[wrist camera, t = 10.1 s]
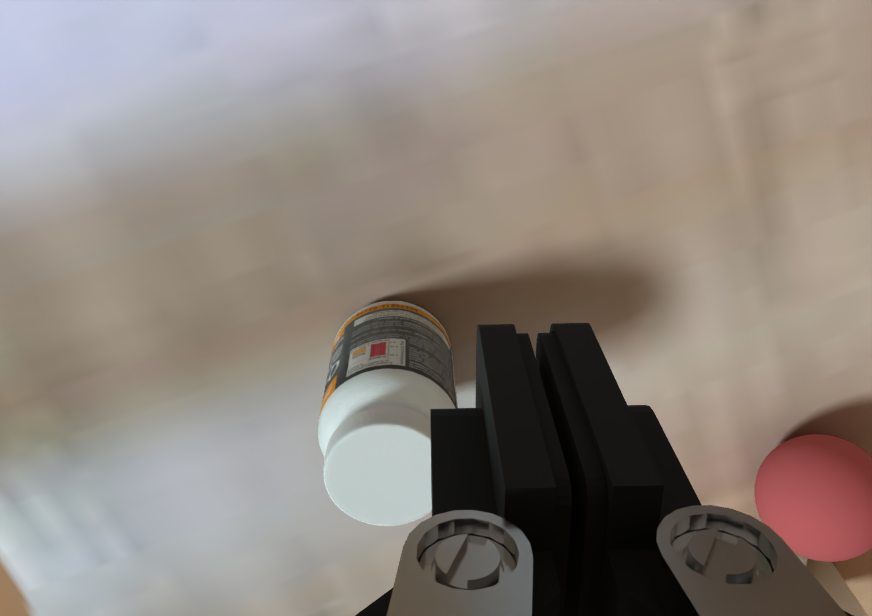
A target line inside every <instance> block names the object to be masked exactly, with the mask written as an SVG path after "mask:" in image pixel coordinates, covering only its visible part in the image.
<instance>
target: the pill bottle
mask: <svg viewBox="0 0 872 616" xmlns="http://www.w3.org/2000/svg"><path fill="white" fill-rule="evenodd" d="M457 408H458V406H457V396H456V387H455V378H454V365H453V356H452V350H451V344H450V341H449V338H448V335H447V333H446V331H445V329H444V327H443V326H442V325H441V324H440V322H439V321H438V320H437V319H436V318H435V317H434V316H433V315H432V314H430V313H429V312H428V311H426V310H425V309H423V308H421V307H419V306H416V305H414V304H411V303H407V302H403V301H382V302H377V303H373V304H370V305H368V306H365V307H364V308H362V309H360V310H358V311H357V312H355V313H353V314H352V315H351V316H350V317H349V318H348V319H347V320H346V321H345V323H344V324H343V325H342V327H341V328H340V330H339V332H338V334H337V336H336V338H335V341H334V345H333V349H332V354H331V359H330V364H329V370H328V375H327V381H326V386H325V391H324V397H323V401H322V406H321V411H320V417H319V423H318V439H319V443H320V447H321V450H322V453H323V455H324V457H325V461H324V471H323V474H324V482H325V486H326V489H327V491H328V494H329V496H330V497H331V499H332V500H333V502H334V503H335V504H336V505H337V506H338V507H339V508H340V509H341V510H342V511H343V512H345V513H346V514H348V515H349V516H351V517H353V518H355V519H357V520H359V521H361V522H364V523H368V524H372V525H379V526H398V525H403V524H407V523H410V522H413V521H415V520H418V519H420V518H422V517H424V516H425V515H427V514H428V513H429V512H431V511H432V495H431V429H430V409H457Z"/></svg>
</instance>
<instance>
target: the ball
mask: <svg viewBox="0 0 872 616" xmlns="http://www.w3.org/2000/svg"><path fill="white" fill-rule="evenodd" d="M755 502H756V506H757V510H758V513H759V515H760V518H761V520H762V521H763V523H764V524H766V525H767V526H769V527H770V528H771V529H772V530H773V531H774V532H776V533H777V534H778V535H779V536H780V537H781V538H782V539H783V540H784V541H785V542H786V544H787V545H788V546H789V547H790V548H791V550H792V551H793V552H794V553H796V554H798V555H800V556H803V557H806V558H809V559H813V560H817V561H824V562H837V561H845V560H849V559H853V558H855V557H858V556H860V555H862V554H864V553H865V552H867V551H869V550H870V549H871V548H872V457H871V456H870V455H869V454H868V453H867V452H865V451H864V450H862V449H861V448H860V447H858V446H856V445H855V444H853V443H851V442H849V441H846V440H844V439H841V438H838V437H834V436H829V435H822V434H811V435H803V436H799V437H795V438H792V439H790V440H788V441H785V442H784V443H782V444H780V445H779V446H777V447H776V448H775V449H774V450H772V451H771V452H770V454H769V455H768V456H767V457H766V458H765V460H764V461H763V463H762V464H761V466H760V469H759V471H758V474H757V477H756V481H755Z"/></svg>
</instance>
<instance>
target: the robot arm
mask: <svg viewBox="0 0 872 616" xmlns="http://www.w3.org/2000/svg"><path fill="white" fill-rule="evenodd" d="M430 429H431V495H432V517H431V518H429V519H427V520H425V521H423V522H421V523H420V524H419V525H418V526H417V527H416V528H415V529H414V530H413V531H412V532H411V533H410V534H409V536H408V538H407V540H406V542H405V544H404V546H403V550H402V554H401V558H400V562H399V567H398V571H397V575H396V579H395V583H394V587H393V588H392V589H391V590H389V591H388V592H387V593H385V594H384V595H383V596H381V597H380V598H378V599H377V600H376V601H374V602H373V603H372V604H370V605H369V606H368V607H366V608H365V609H364V610H362V611H361V612H360V613H358V614H357V615H356V616H854V615H852V614H850V613H848V612H846V611H844V610H842V609H841V608H840V606H839V605H838V604H837V603H836V602H835V601H834V599H833V598H832V597H831V596H830V595H829V593H828V592H827V591H826V590H825V589H824V588H823V586H822V585H821V584H820V583H819V582H818V580H817V579H816V578H815V577H814V576H813V574H812V573H811V572H810V571H809V570H808V569H807V567H806V566H805V565H804V564H803V563H802V561H801V560H800V559H799V558H798V557H797V556H796V554H795V553H794V552H793V551H792V550H791V548H790V547H789V546H788V545H787V544H786V542H785V541H784V540H783V539H782V538H781V537H780V536H779V535H778V534H777V533H776V532H774V531H773V530H772V529H771V528H770V527H769V526H767V525H766V524H764V523H762V522H761V521H759V520H757V519H755V518H754V517H752V516H750V515H747V514H744V513H742V512H739V511H736V510H733V509H730V508H724V507H718V506H713V505H701V503H700V501H699V499H698V497H697V495H696V493H695V491H694V489H693V487H692V486H691V484H690V482H689V480H688V478H687V476H686V474H685V472H684V470H683V468H682V466H681V464H680V462H679V460H678V458H677V456H676V454H675V452H674V450H673V449H672V447H671V445H670V443H669V441H668V439H667V437H666V435H665V433H664V431H663V429H662V427H661V425H660V423H659V421H658V419H657V417H656V415H655V413H654V412H653V410H652V409H651V407H650V406H647V405H627V404H626V401H625V399H624V397H623V395H622V393H621V391H620V388H619V386H618V384H617V382H616V380H615V378H614V375H613V373H612V371H611V369H610V367H609V365H608V362H607V360H606V358H605V356H604V354H603V352H602V349H601V347H600V345H599V343H598V341H597V339H596V337H595V334H594V332H593V330H592V328H591V326H590V324H589V323H566V324H552V325H551V328H550V333H538V337H537V346H536V358H535V355H534V352H533V348H532V345H531V341H530V338H529V335H528V333H526V334H516V330H515V326H514V324H503V325H478V327H477V353H476V408H457V409H430Z"/></svg>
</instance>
